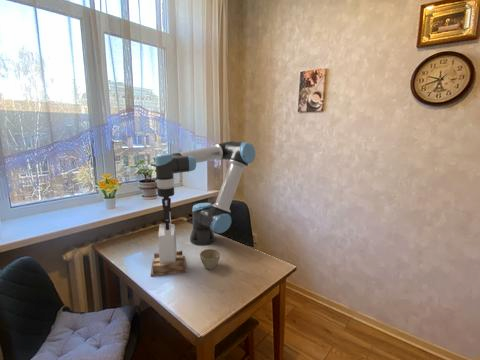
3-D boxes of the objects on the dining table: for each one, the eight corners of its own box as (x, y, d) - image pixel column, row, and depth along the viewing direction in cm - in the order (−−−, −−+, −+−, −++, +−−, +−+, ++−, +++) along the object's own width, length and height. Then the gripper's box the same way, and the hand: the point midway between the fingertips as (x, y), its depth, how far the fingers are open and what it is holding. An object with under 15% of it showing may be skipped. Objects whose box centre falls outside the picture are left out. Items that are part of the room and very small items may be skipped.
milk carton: (162, 257, 126) (160, 222, 122) (176, 256, 127) (175, 221, 123) (159, 264, 119) (157, 227, 115) (174, 264, 120) (173, 227, 116)
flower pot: (203, 274, 118) (203, 260, 116) (197, 263, 126) (197, 251, 125) (223, 269, 122) (223, 256, 121) (215, 259, 131) (215, 247, 129)
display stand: (184, 257, 132) (184, 249, 131) (185, 271, 119) (185, 263, 118) (152, 260, 128) (152, 252, 127) (150, 276, 115) (150, 267, 114)
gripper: (158, 181, 126) (160, 220, 131) (155, 194, 102) (158, 242, 107) (173, 180, 128) (175, 219, 133) (174, 193, 104) (176, 240, 109)
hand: (168, 229), depth 120 cm, fingers open, 13 cm apart
